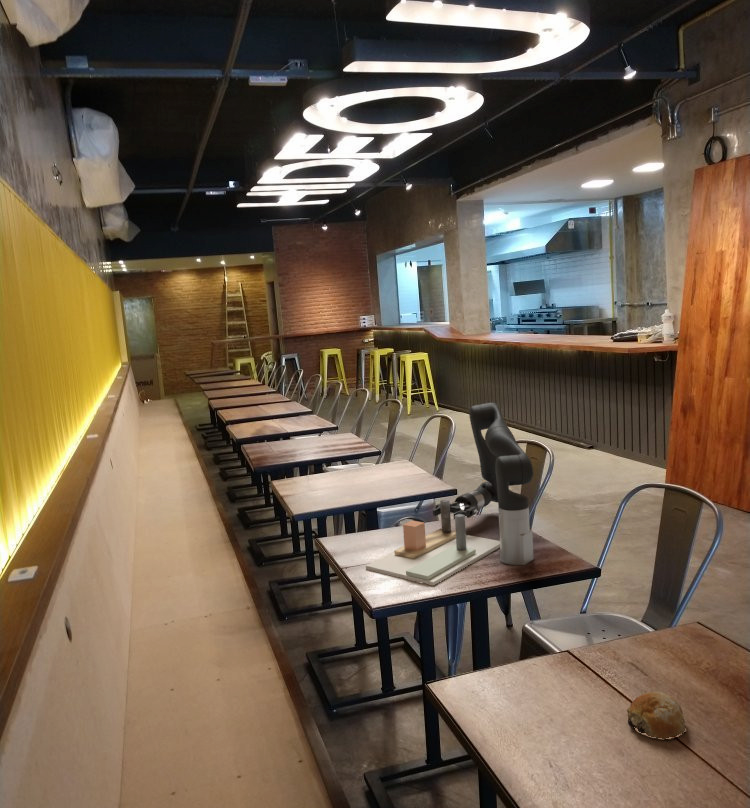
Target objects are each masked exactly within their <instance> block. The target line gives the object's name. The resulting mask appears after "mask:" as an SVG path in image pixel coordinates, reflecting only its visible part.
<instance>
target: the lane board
mask: <svg viewBox="0 0 750 808" xmlns="http://www.w3.org/2000/svg"><path fill="white" fill-rule="evenodd" d="M454 545H456V537H455V538H454V539H452V540H450V541H448V542H446V543H444V544H442V545H440V546H438V547H436V548H434V549H432V550H430V551H428V552H426V553H424V554H423V555H421V556H419V557H417V558H415V559H413V558H409V557H404V556H400V555H395V554H394V551H392V552H391V553H388V554H387V555H385V556H383V557H381V558H378V559H376V560H374V561H372V562H370V563H368V564H366V565H365V570H367V571H371V572H376V573H379V574H383V575H388V576H392V577H395V576H396V577H395V578H399V577H400V578H399V579H403V578H404V580H407V579H408V581H411V580H413V581H412V582H415V581H417V582H416V583H419V582H422V583H421V584H423V583H426V584H425V585H427V584H430V585H429V586H431V585H435V584H437V583H438V584H440V583H441V582H440V581H442V580H443V581H444V579H445V580H447V579H448V578H450V577H452V576H453V575H452V574H454V573H455V574H457V573H459V572H460V571H462V570H464V569H466V568H467V567H469V566H471V565H472V564H474V563H476V562H478V561H479V560H481V559H483V558H484V557H486V556H487V555H489V554H491V553H493V552H494V551H496V550H498V549H500V540H496V539H489V538H486V537H485V538H484V537H480V536H474V535H469V534H466V547H467V548H471V549H476V553H475V554H473V555H471V556H470V557H468V558H466V559H464V560H462V561H461V562H459V563H457V564H455V565H454V566H452V567H450V568H448V569H447V570H445V571H443V572H441V573H440V574H438V575H436V576H434V577H433V578H431V579H429V580H425V579H421V578H417V577H413V576H409V575H406V571H407V570H409V569H411V568H412V567H414V566H416V565H418V564H420V563H422V562H424V561H426V560H428V559H429V558H431V557H433V556H435V555H437V554H439V553H441V552H443V551H445V550H446V549H448V548H450V547H452V546H454ZM470 564H471V565H470ZM468 565H469V566H468ZM465 567H466V568H465ZM463 568H464V569H463ZM461 569H462V570H461ZM458 571H459V572H458ZM456 572H457V573H456ZM455 574H454V575H455ZM451 575H452V576H451ZM449 576H450V577H449ZM447 577H448V578H447ZM446 578H447V579H446ZM443 581H442V582H443ZM439 582H440V583H439ZM438 584H437V585H438ZM435 586H436V585H435Z"/></svg>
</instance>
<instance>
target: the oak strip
mask: <svg viewBox="0 0 750 808" xmlns="http://www.w3.org/2000/svg"><path fill="white" fill-rule="evenodd" d="M439 502H440V503H439V504H440V506H441V514H440V521H441V523H440V525H441V528H438V529H436V530H435V531H432V532H430V533H428V534H425V538H426V547H424V548H422V549H420V550H418V551H415V550H410V549H405V548H404V545H403V546H401V547H399V548H397V549H395V550H394V551H393V552H394V554H395V555H400V556H404V557H409V558H413V559H415V558H417V557H419V556H421V555H423V554H424V553H426V552H428V551H430V550H432V549H434V548H436V547H438V546H440V545H442V544H444V543H446V542H448V541H450V540H452V539H454V538H455V537H456V530H452V522H451V520H452V519H451V518H452V517H451V514H450V503H451V502H450V500H449V499H441V500H440V501H439Z"/></svg>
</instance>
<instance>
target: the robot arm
mask: <svg viewBox="0 0 750 808" xmlns="http://www.w3.org/2000/svg"><path fill="white" fill-rule="evenodd" d="M468 414H469V416H468V417H469V421H470V425H471V426H470V427H471V430H472V434H473V440H474V442H475V443H474V444H475V446H476V450H477V455H478V458H479V464H480V472H481V473H480V474H481V477H482V480H485V481H483V482H482V483H480V485H478V487H477V488H476V489H473V490H472V491H471V490H470V491H467V492H465V493H464V494H461V495H459V496H457V497H456V499H455V500H454V501H452V502H450V515H453V520H455V515H458V514H462V515H465V517H466V518H468V519H469V518H471V517H473V516H475V515H477V513H478V511H480V510H481V509H483V508H485V507H487V506H488V505H490V503H491V502H493V503H496V504H497V505H498V507H497V508H498V527H499V528H498V530H499V533H498V534H499V541H500V548H499V550H500V552H499V554H500V561H501V563H503V564H507V565H513V566H516V565H517V566H519V565H520V566H525V565H527V564H529V563H530V562H531V561H533V560H534V541H533V540H534V539H533V538H534V537H533V530H532V529H530V508H529V507H530V505H529V504H530V503H529V498H528V497H527V496H526V495H525V494H521V493H519V492H515V491H513V490H511V489H510V486H511V487H512V486H522V485H527V484H529V483H531V482H532V480H533V478H534V468H533V464H532V462H531V459H530V457H529V456H528V454H526V452H525V451H524V450H523V449H522V448H521V447H520V445H519V443H518V442H517V440H516V438H515V436H514V434H513V432H512V431H511V429H510V428H509V426H508V425H507V423H506V422H505V421H506V420H505V418H504V416H503V413H502V411H501V409H500V407H499V405H498V404H497V403H496V402H487V403H482V404H481V403H479V404H475V405H472V406H470V407H469V412H468ZM484 430H486V432H485V436H483V434H482V431H484ZM434 507H435V508H434V509H433V510H432V515H433V517H437V516H439V515H441V506H440V503H437V504H435V506H434Z"/></svg>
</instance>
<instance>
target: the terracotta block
mask: <svg viewBox="0 0 750 808" xmlns="http://www.w3.org/2000/svg"><path fill="white" fill-rule="evenodd" d="M425 525H426V523H425V522H422V521H417V520H410V521H408V522H406V523H403V525H402V527H403V528H402V529H403V546H404V548H405V549H410V550H415V551H418V550H420V549H422V548H424V547H426V538H425V536H426V526H425Z"/></svg>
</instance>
